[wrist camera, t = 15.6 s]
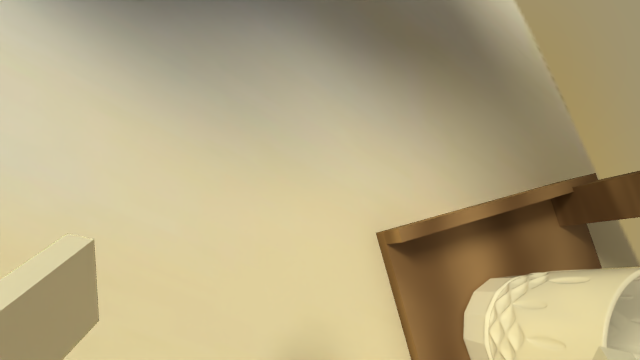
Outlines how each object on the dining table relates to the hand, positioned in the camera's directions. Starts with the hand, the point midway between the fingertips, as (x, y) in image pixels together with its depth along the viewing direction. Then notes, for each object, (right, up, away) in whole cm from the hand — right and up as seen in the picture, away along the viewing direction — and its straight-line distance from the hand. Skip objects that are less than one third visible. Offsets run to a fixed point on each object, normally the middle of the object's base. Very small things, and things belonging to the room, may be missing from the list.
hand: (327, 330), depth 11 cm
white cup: (+12, -6, +16) cm, 21 cm away
